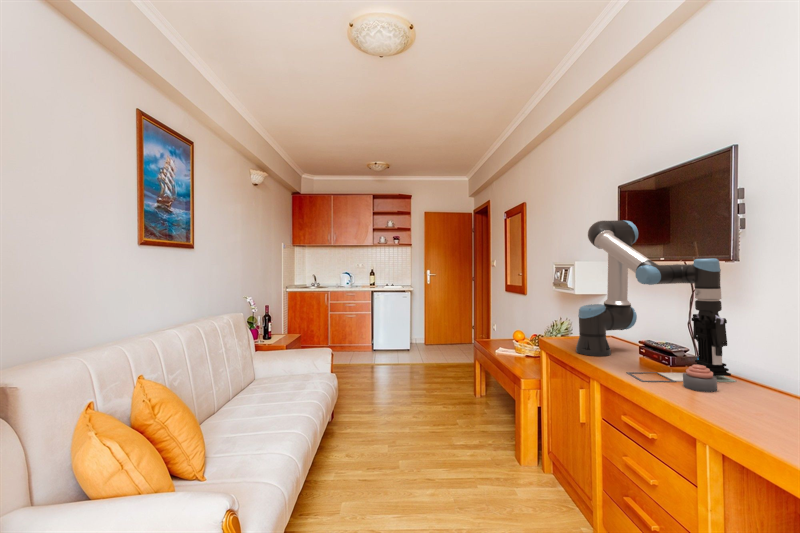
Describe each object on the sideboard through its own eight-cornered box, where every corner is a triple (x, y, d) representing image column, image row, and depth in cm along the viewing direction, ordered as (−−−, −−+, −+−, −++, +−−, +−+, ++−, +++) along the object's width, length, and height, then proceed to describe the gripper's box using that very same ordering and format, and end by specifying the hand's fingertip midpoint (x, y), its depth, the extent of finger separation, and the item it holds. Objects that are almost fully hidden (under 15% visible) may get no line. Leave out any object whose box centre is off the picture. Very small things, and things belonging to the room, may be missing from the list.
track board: (626, 373, 144) (626, 371, 144) (714, 373, 141) (713, 372, 141) (642, 381, 133) (642, 380, 133) (738, 382, 129) (738, 381, 129)
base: (677, 383, 130) (676, 372, 130) (704, 383, 129) (704, 372, 129) (694, 392, 121) (694, 380, 121) (724, 392, 120) (723, 380, 120)
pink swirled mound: (681, 372, 129) (680, 363, 129) (703, 372, 128) (703, 363, 128) (695, 378, 122) (694, 368, 122) (718, 378, 121) (718, 368, 121)
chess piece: (713, 369, 139) (712, 317, 139) (730, 375, 131) (728, 320, 131) (691, 369, 140) (689, 317, 140) (706, 375, 132) (704, 320, 132)
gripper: (680, 298, 146) (682, 355, 146) (716, 302, 127) (718, 369, 126) (700, 297, 145) (702, 355, 145) (740, 302, 126) (742, 369, 125)
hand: (710, 361), depth 135 cm, fingers closed on chess piece, 6 cm apart
